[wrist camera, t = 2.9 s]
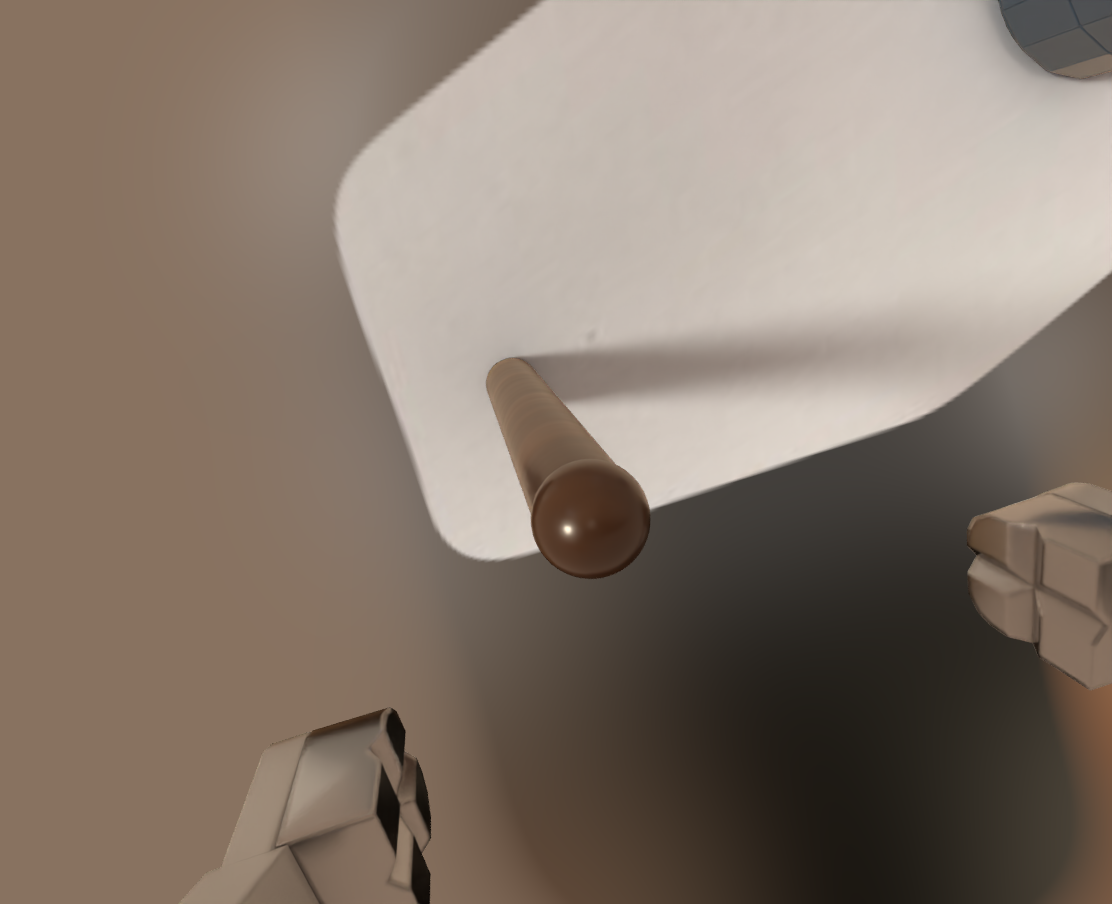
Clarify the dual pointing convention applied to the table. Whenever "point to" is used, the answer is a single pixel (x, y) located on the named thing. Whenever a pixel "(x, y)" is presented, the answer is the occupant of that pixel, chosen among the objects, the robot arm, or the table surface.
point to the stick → (567, 478)
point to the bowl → (1063, 34)
